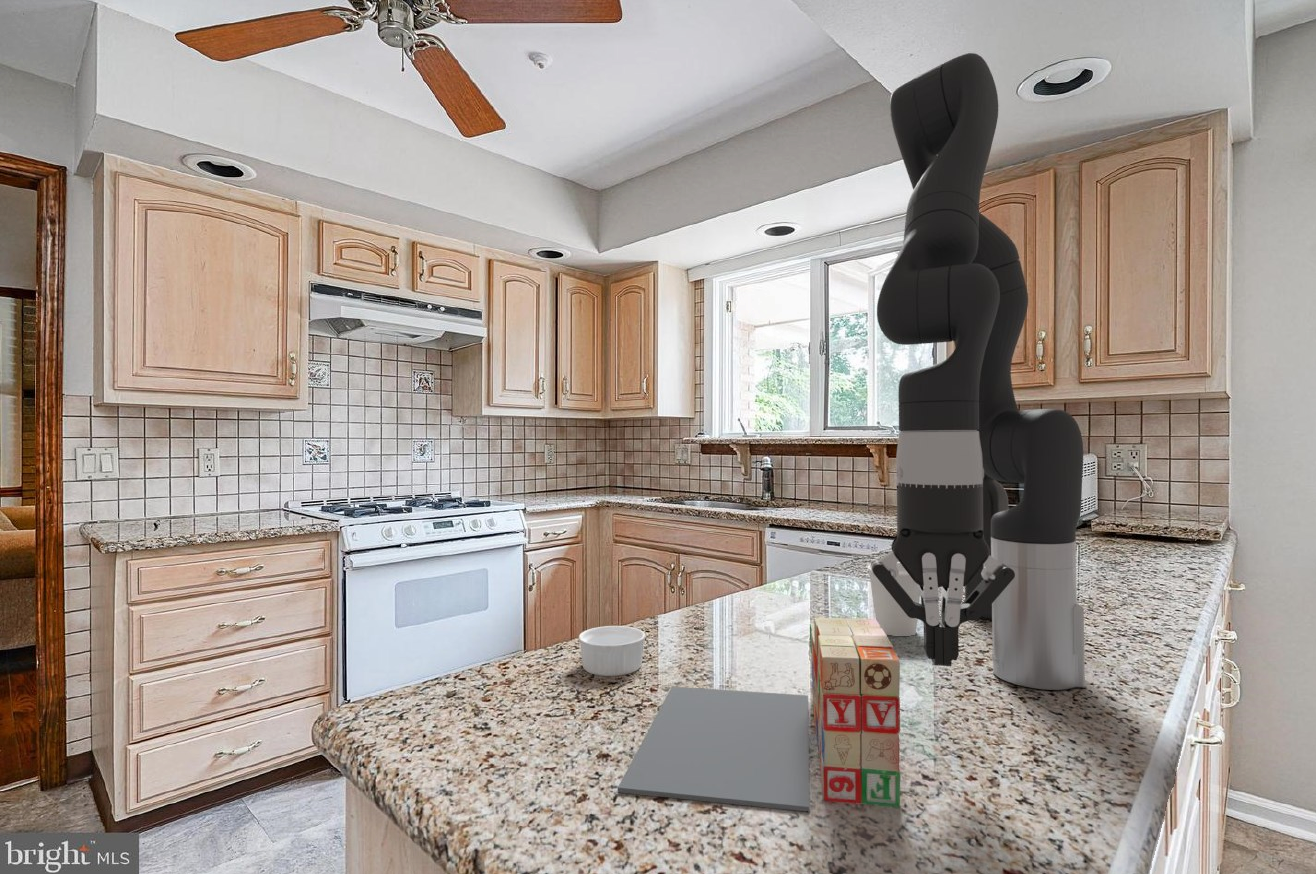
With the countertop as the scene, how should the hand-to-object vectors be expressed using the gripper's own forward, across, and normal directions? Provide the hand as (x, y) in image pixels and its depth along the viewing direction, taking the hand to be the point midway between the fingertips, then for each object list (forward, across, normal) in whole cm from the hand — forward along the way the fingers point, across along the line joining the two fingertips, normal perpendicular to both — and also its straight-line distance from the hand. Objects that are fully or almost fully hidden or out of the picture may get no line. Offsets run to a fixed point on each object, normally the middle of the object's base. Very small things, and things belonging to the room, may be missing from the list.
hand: (940, 663), depth 63 cm
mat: (+9, +20, 0) cm, 22 cm away
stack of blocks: (+9, +8, -1) cm, 12 cm away
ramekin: (+9, +38, -19) cm, 43 cm away
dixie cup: (+9, -1, -42) cm, 43 cm away
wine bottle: (+9, -17, -54) cm, 57 cm away
